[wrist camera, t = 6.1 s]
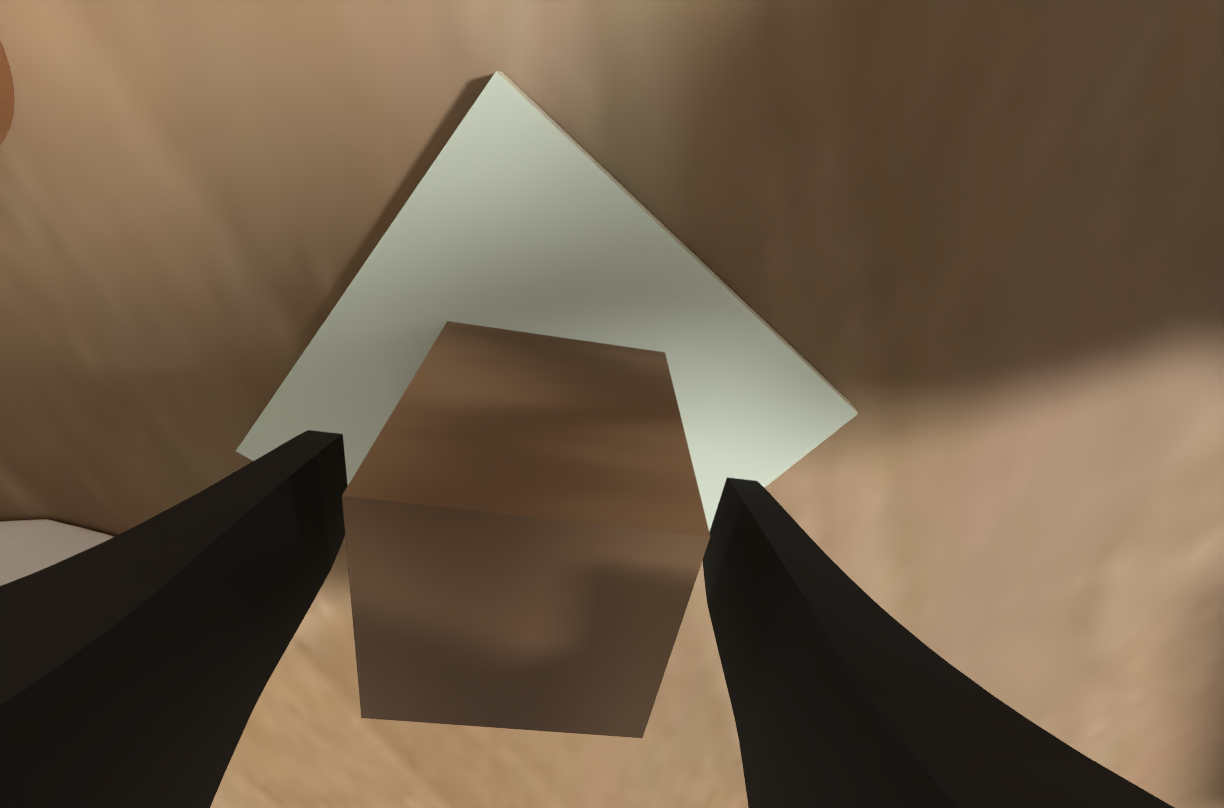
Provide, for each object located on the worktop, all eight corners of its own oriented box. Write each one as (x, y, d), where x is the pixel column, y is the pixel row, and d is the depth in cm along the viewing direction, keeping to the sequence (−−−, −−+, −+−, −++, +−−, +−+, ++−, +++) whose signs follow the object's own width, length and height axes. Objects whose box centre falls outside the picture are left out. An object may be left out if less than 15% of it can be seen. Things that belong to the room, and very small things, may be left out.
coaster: (848, 400, 13) (858, 413, 13) (574, 620, 17) (573, 637, 16) (501, 71, 10) (496, 71, 9) (249, 436, 13) (235, 451, 13)
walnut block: (664, 352, 12) (710, 536, 7) (626, 514, 14) (642, 737, 9) (447, 320, 11) (342, 495, 7) (443, 494, 14) (361, 718, 9)
